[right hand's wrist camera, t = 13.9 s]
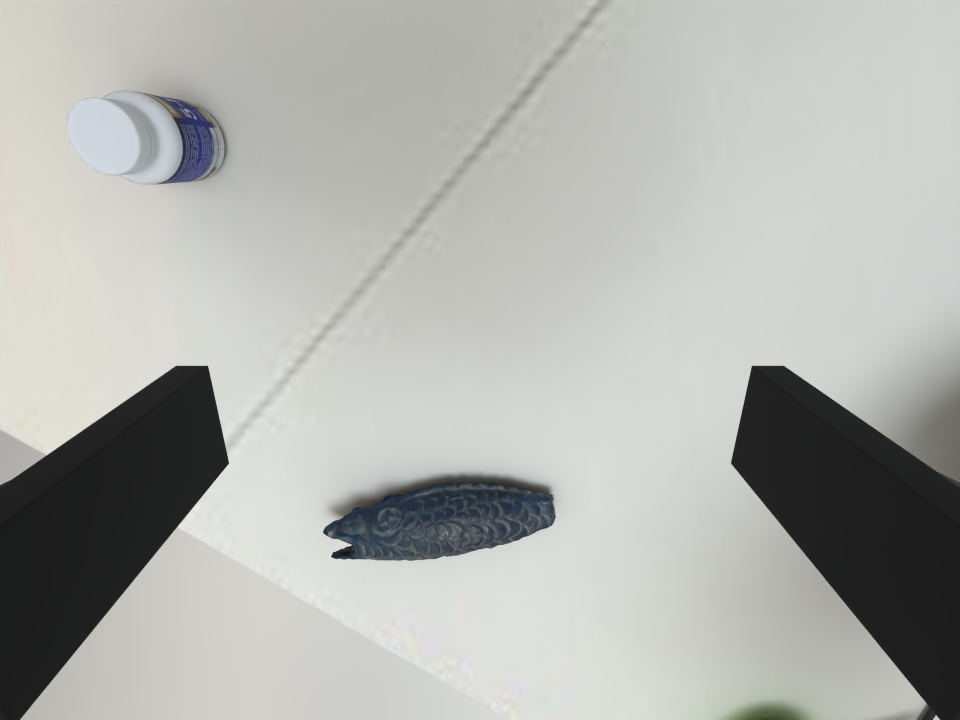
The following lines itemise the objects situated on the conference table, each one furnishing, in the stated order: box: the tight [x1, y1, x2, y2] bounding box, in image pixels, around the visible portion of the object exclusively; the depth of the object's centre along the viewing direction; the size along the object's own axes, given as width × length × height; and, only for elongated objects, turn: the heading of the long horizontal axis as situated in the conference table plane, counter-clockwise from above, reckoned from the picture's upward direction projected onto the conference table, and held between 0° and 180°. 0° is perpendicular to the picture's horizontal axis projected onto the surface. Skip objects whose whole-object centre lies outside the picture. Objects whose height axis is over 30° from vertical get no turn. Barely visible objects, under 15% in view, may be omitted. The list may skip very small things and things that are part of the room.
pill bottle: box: [67, 91, 225, 184], centre depth 32 cm, size 5×5×9 cm
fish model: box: [323, 482, 555, 561], centre depth 46 cm, size 7×21×5 cm, turn 95°
